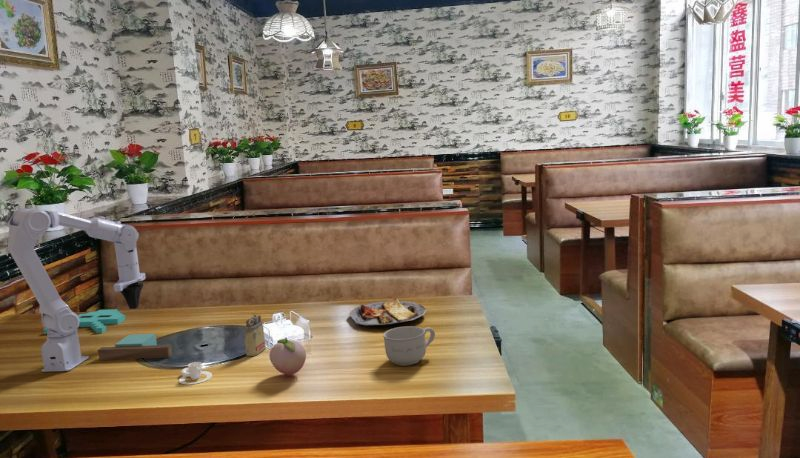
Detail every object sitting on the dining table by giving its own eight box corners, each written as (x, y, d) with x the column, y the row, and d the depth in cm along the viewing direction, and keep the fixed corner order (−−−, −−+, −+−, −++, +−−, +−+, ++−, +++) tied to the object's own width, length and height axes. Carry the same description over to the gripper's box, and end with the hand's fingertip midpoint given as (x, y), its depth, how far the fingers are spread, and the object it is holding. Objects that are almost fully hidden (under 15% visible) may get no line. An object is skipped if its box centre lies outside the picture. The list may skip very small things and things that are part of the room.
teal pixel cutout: (102, 334, 189) (135, 314, 209) (101, 327, 189) (135, 308, 209) (44, 335, 191) (83, 316, 211) (43, 329, 191) (82, 310, 211)
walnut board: (168, 357, 164) (167, 347, 164) (99, 360, 165) (97, 350, 165) (171, 354, 166) (170, 344, 166) (103, 357, 167) (101, 347, 167)
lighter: (254, 357, 161) (251, 321, 159) (242, 356, 162) (238, 321, 160) (268, 347, 167) (264, 313, 166) (256, 346, 169) (252, 313, 167)
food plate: (343, 312, 197) (342, 302, 196) (409, 302, 203) (409, 292, 203) (361, 336, 173) (360, 324, 172) (435, 323, 180) (435, 312, 179)
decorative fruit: (315, 374, 147) (311, 336, 145) (287, 386, 141) (283, 346, 139) (293, 365, 153) (290, 328, 152) (266, 375, 148) (262, 337, 146)
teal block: (143, 357, 167) (142, 343, 166) (116, 357, 167) (114, 344, 167) (157, 346, 175) (155, 333, 174) (131, 347, 175) (129, 334, 174)
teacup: (391, 372, 145) (389, 341, 144) (380, 357, 155) (378, 328, 154) (444, 363, 149) (442, 333, 147) (430, 349, 159) (429, 320, 158)
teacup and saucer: (179, 375, 152) (177, 360, 151) (211, 369, 155) (209, 354, 154) (179, 388, 144) (177, 373, 143) (213, 382, 147) (211, 366, 146)
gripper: (128, 269, 168) (134, 315, 171) (152, 258, 183) (157, 300, 185) (104, 270, 169) (110, 316, 171) (130, 259, 183) (136, 301, 185)
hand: (133, 308), depth 178 cm, fingers closed
